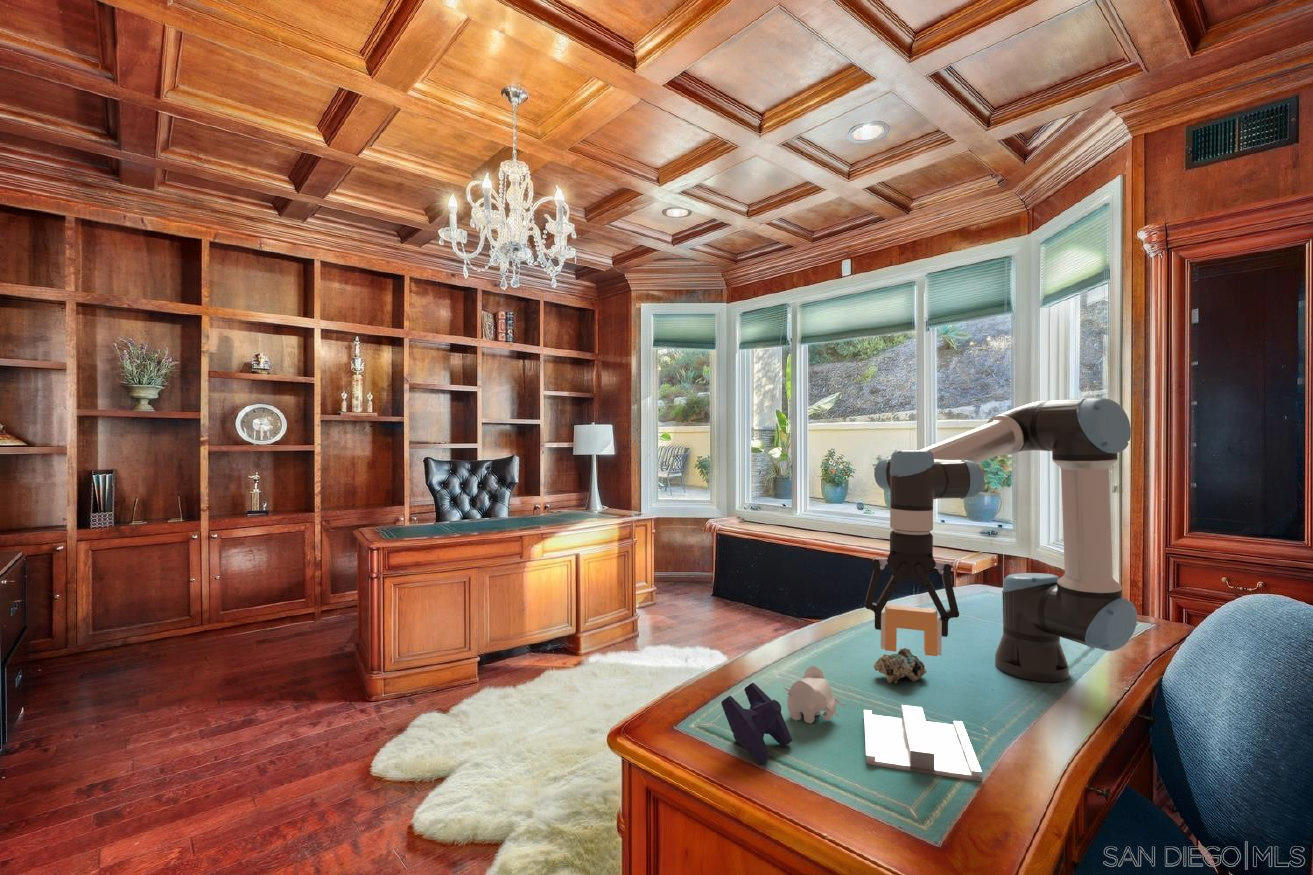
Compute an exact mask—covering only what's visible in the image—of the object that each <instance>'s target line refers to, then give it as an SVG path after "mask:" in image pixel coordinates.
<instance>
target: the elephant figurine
mask: <svg viewBox="0 0 1313 875" xmlns="http://www.w3.org/2000/svg"><path fill="white" fill-rule="evenodd" d="M782 688H783V689H785V690H786V691H787V695H788V696H787V700H786V704H787V705H786V707H787V710H788V713H789V716H790V717H791V719H792V720H795V721H801V720H802V718H803V720H804V722H805V723H808V724H812V723H814V722H815V717H816V716H819V715H820V713H821V712H823V713H822V715H821V718H822V719H823V720H826V721H829V720H831V719H832V717H833V716H834V715H835V716H836V717H839V715H838V714H837V713H836V711H837V704H839V705H840V706H841V707H842V708H843V709H845V707H844V705H843V703H842V702H841V701H840V700H839V699H838V698H837V697H835V696H834V695H833V693H832V690H831V685H830V683H829V681H827V680H826V679H825V675H824V673H823V671H822V670H821V668H819V667H816V666H814V665H812V666H810V667H808V668H807V669H806V670H805V671H804V674H803V677H802V679H800V680H797V681H795V682H794V683H792V685H791V686H790V688H789V687H787V686H783V687H782ZM802 714H803V715H802Z"/></svg>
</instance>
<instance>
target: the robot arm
mask: <svg viewBox="0 0 1313 875" xmlns="http://www.w3.org/2000/svg"><path fill="white" fill-rule="evenodd" d="M1130 422H1131V421H1130V420H1129V417H1128V414H1127V413H1126V411H1125V410H1124V408H1122V407H1121V405H1120V404H1119V403H1118V402H1117V401H1114V400H1112V399H1109V398H1105V397H1104V398H1103V397H1099V398H1098V397H1084V398H1073V399H1072V398H1068V399H1055V400H1054V399H1052V400H1047V399H1046V400H1039V401H1035V402H1030V403H1026V404H1024V405H1021V406H1018V407H1016V408H1013V409H1010V410H1006V411H1005V412H1002V413H999V414H997V415H994V416H992V417H991V418H990V419H989V420H988V421H987V422H986V424H983V425H981V426H979V427H976V428H973V429H971V430H968V431H965V432H963V433H961V434H957V435H955V436H951V437H950V438H947V439H945V440H943V441H940V442H938V443H935V444H932V445H930V446H928V447H925V448H922V449H918V450H917V449H916V450H915V449H907V450H906V449H898V450H897V449H896V450H894V451H893V452H892V453H891V456H889V457H883V458H881V459H880V460H879V461H878V462H877V463H876V465H875V467H874V472H873V476H874V480H875V483H876V484H877V485H878V487H880V489H882V490H884V491H889V492H890V493H889V494H890V505H889V506H890V508H889V528H890V529H891V531H890V533H889V554H888V556H887V557H878V556H874V557H873V559H872V565H873V566H872V567H873V570H872V574H871V578H870V582H869V586H868V589H867V594H866V598H865V601H864V607H865V609H867V610H870V611H871V612H873V613H874V629H875V630H876V631H877V630H878V631H880V649H881V650H885V610H884V609H885V605H886V604H887V603H888V601H889V599H890V598H891V596H892V595H893V592H894V591H895V589H896V588H897V586H898V584H899V583H900V582H901V581H904V582H905V581H906V582H908V581H913V582H918V583H921V582H922V584H923V585H924V587H925V589H926V591H927V593H928V594H929V597H930V598H931V600H932V602H933V604H934V605H935V606H934V607H935V609H936V611H937V613H938V614H939V615H937V656H942V643H943V642H942V639H943V638H942V637H945V638H947V637H948V635H949V620H951V619H953V618H956V619H957V618H958V617H959V618H960V612H959V608H958V604H957V600H956V596H955V592H954V591H955V590H954V588H953V582H952V580H951V578H952V577H951V572H952V565H951V563H950V562H948V561H944V562H941V561H936V560H935V558H934V556H933V555H934V535H933V533H931V532H932V531H933V530H934V500H936V499H937V500H939V499H944V500H945V499H960V500H963V499H967V498H974V497H976V496H978V495H979V494H980V493H981V492H982V490H983V488H984V486H985V474H984V471H983V469H982V467H981V466H980V465H979V464H980V463H983V462H985V461H987V460H990V459H992V458H995V457H997V456H1000V455H1004V456H1005V455H1013V454H1016V453H1019V452H1025V451H1043V452H1044V451H1045V452H1051V454H1052V461H1053V463H1055V464H1056V465H1057V466H1058V467H1059V468H1060V473H1061V474H1060V476H1061V477H1060V479H1061V502H1062V504H1061V505H1062V509H1061V510H1062V528H1063V529H1062V531H1063V532H1062V533H1063V534H1062V536H1063V557H1064V559H1063V562H1064V574H1063V575H1062V576H1061V577H1060V576H1058V575H1056V574H1053V573H1041V572H1040V573H1039V572H1024V573H1023V572H1020V573H1012V574H1008V575H1006V576H1005V577H1004V579H1003V583H1002V584H1003V585H1002V591H1001V592H1002V593H1001V594H1002V637H1001V638H1000V641H999V644H998V646H997V648H996V652H995V654H994V665H995V666H996V668H997V669H998V670H1000V671H1001V672H1003V673H1005V674H1008V675H1011V676H1013V677H1016V678H1020V679H1024V680H1028V681H1034V682H1040V683H1058V682H1064V681H1066V680H1068V679H1069V677H1070V666H1069V664H1068V661H1067V658H1066V655H1065V653H1064V649H1063V647H1062V645H1061V639H1060V638H1062V639H1067V640H1070V641H1072V642H1075V643H1077V644H1081V645H1084V646H1087V647H1089V648H1092V649H1099V650H1102V651H1105V652H1107V651H1108V652H1115V651H1117V650H1120V649H1122V648H1123V647H1124V646H1125V645H1126V644H1128V643H1129V641H1130V640H1131V638H1132V636H1133V635H1134V633H1135V631H1136V627H1137V623H1138V611H1137V608H1136V606H1135V604H1134V603H1133V602H1132V601H1131V600H1129V599H1127V598H1123V587H1122V585H1121V584H1120V583H1119V582H1118V581H1116V579H1114V577H1113V576H1114V572H1113V569H1114V568H1113V547H1112V546H1113V545H1112V544H1113V543H1112V542H1113V540H1112V517H1111V516H1112V515H1111V511H1112V510H1111V488H1110V487H1111V486H1110V483H1111V482H1110V467H1112V465H1114V464H1115V463H1116V462H1118V459H1119V458H1118V453H1121V452H1123V451H1124V450H1126V449H1127V447H1128V446H1129V441H1130V440H1131V437H1132V428H1131V423H1130ZM886 565H888V566H889V568H891V570H892V571H893V573H892V575H891V576H890V579H889V581H888V582H887V584H886V585H885V588H884V589H883V590H882V592H881V594H880V596H879V597H878V600H877V602H876V603H875V602H874V599H875V595H876V592H877V588H878V587H877V586H878V584H879V580H880V578H881V577H880V576H881V570H884V569H885V566H886ZM935 568H936V570H937V571H938V573H939V575H941V577H942V582H943V586H944V590H945V594H946V598H947V603H948V607H949V609H946V608H945V606H944V604H943V603H942V601H941V599H940V597H939V595H938V593H937V591H936V589H935V587H934V585H933V583H932V582H931V580H930V578H929V575H930V574H931V573H932V571H933V570H934V569H935Z"/></svg>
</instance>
